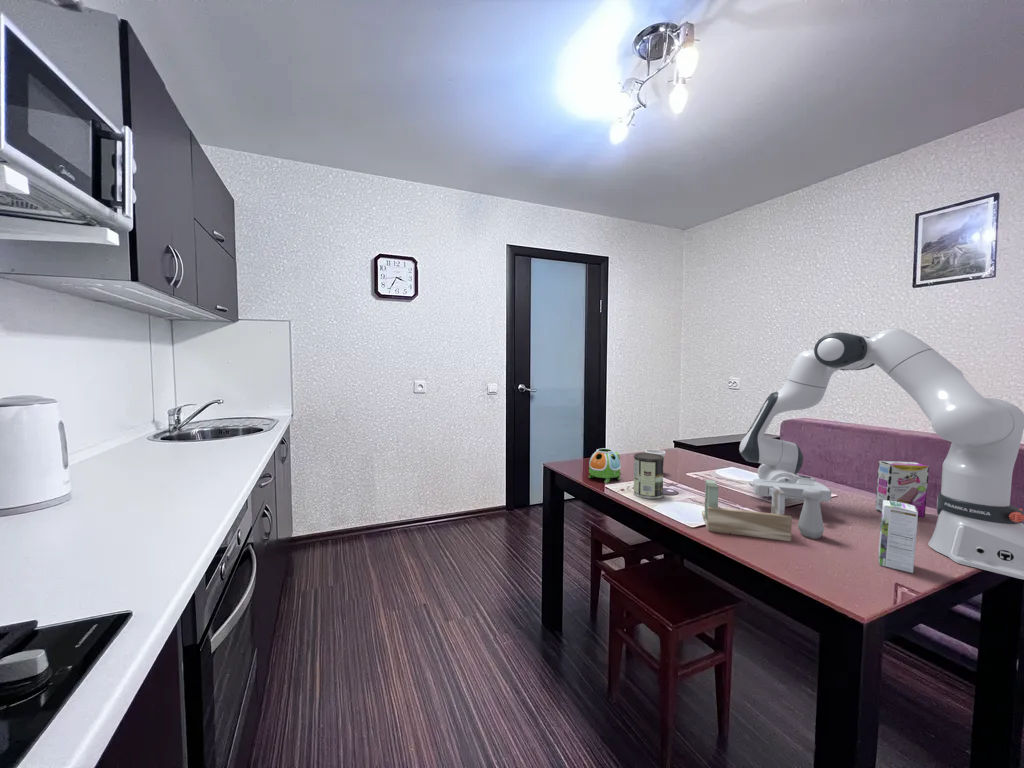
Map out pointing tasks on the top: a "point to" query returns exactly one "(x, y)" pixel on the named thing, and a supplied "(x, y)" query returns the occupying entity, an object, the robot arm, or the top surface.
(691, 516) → the top surface
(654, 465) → the coffee can
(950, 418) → the robot arm
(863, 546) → the top surface
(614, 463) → the turtle holder
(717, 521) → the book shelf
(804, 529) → the salt shaker
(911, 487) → the candy bar box
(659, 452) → the dixie cup
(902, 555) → the syrup box
